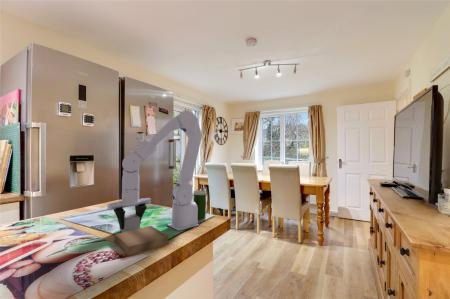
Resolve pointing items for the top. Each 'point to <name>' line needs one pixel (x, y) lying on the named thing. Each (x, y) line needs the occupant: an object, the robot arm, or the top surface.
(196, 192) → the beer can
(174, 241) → the top surface
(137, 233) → the walnut slab
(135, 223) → the grey cube
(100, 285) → the top surface
